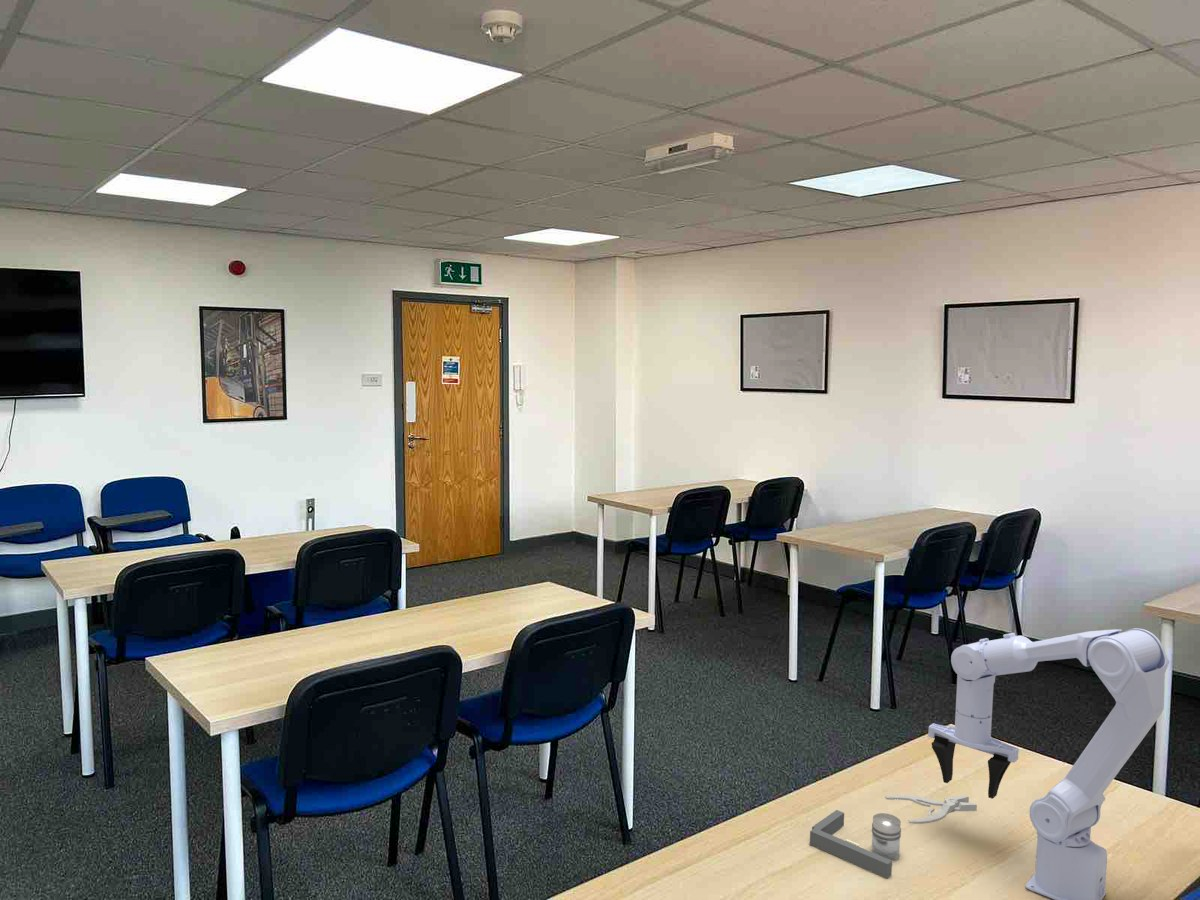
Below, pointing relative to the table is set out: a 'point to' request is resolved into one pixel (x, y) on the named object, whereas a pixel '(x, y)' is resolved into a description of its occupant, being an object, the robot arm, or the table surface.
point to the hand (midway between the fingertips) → (969, 788)
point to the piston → (886, 836)
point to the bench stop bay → (847, 846)
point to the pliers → (947, 806)
